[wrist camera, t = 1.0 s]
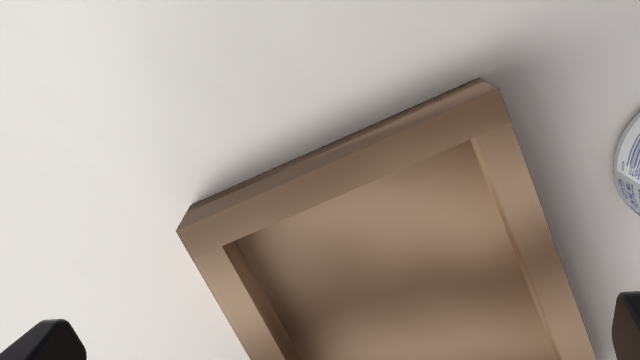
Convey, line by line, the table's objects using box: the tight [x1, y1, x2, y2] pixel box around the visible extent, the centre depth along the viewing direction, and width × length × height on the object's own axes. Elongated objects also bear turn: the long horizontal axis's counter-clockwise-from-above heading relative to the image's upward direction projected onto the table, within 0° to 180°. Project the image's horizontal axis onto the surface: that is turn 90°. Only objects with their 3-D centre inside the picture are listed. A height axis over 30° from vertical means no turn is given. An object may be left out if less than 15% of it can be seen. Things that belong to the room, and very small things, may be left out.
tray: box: [176, 78, 597, 360], centre depth 23 cm, size 14×12×2 cm
